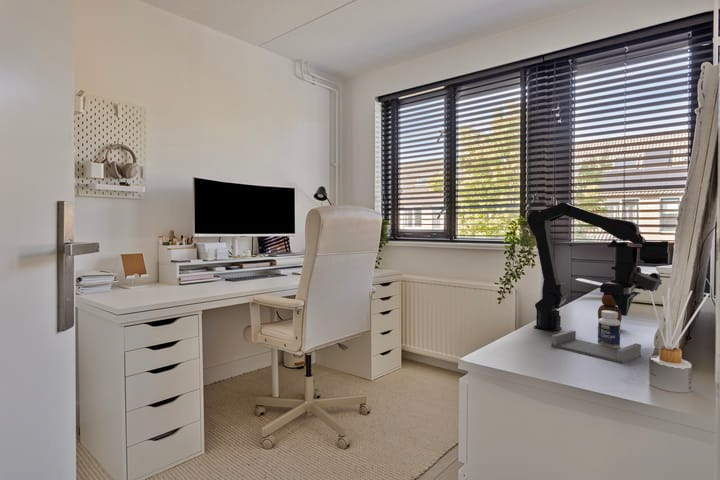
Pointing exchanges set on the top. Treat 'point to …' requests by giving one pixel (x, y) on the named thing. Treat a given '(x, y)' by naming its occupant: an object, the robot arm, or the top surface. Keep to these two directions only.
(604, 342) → the pill bottle
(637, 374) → the top surface
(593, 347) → the tray
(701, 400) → the top surface
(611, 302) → the wooden figurine
